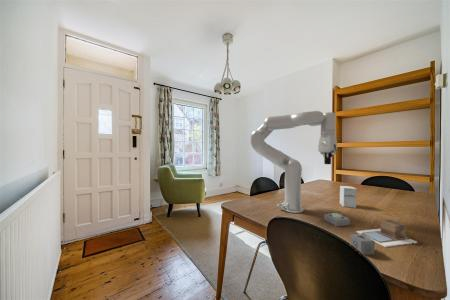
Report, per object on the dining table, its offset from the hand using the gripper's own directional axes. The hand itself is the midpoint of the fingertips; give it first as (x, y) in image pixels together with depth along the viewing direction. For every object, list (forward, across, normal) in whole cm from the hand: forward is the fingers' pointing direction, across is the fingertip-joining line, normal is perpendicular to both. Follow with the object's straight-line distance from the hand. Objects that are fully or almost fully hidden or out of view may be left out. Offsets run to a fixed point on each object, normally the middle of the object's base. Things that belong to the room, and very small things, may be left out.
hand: (327, 164), depth 103 cm
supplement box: (+29, -8, +23) cm, 38 cm away
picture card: (+29, +30, +2) cm, 42 cm away
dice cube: (+29, +36, -17) cm, 49 cm away
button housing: (+29, +13, -6) cm, 32 cm away
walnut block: (+28, +30, +6) cm, 42 cm away
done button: (+29, +13, -6) cm, 32 cm away
